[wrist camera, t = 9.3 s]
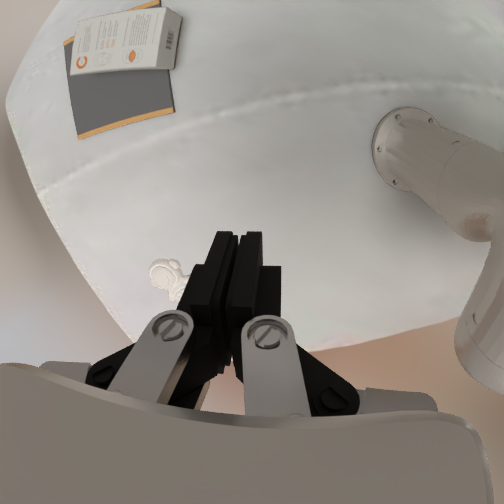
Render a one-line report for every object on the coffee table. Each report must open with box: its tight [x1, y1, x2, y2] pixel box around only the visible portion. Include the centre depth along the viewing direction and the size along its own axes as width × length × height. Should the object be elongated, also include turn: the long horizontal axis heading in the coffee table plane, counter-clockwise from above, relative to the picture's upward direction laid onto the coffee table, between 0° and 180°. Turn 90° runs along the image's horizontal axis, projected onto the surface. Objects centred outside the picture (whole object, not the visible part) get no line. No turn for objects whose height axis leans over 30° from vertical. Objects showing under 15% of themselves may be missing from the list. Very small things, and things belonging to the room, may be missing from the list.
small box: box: [70, 7, 182, 76], centre depth 24 cm, size 8×6×13 cm
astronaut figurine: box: [149, 259, 190, 302], centre depth 48 cm, size 9×12×3 cm
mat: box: [64, 0, 175, 140], centre depth 29 cm, size 17×18×1 cm
